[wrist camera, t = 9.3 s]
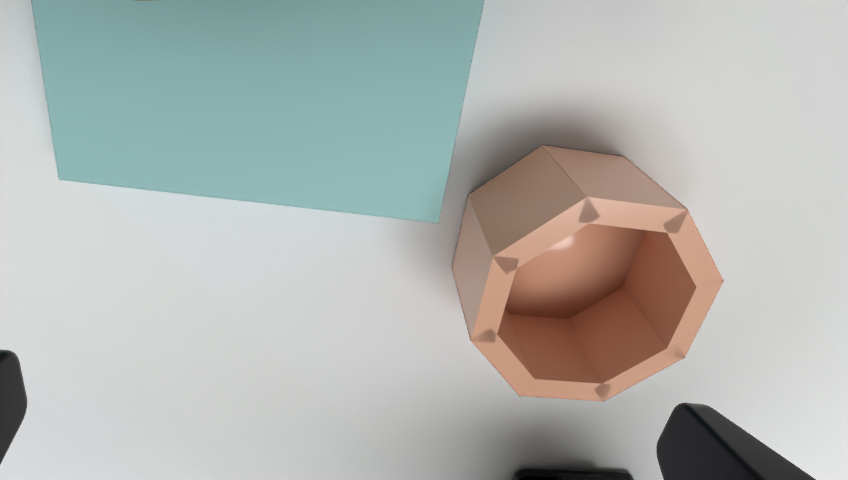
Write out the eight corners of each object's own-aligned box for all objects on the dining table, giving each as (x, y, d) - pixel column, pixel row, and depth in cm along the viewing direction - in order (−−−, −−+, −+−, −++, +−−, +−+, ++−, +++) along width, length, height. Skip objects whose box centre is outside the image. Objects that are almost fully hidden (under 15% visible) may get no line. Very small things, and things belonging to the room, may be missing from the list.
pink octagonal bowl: (611, 328, 24) (660, 405, 20) (440, 313, 22) (456, 392, 18) (679, 164, 20) (756, 217, 16) (481, 136, 19) (511, 186, 15)
